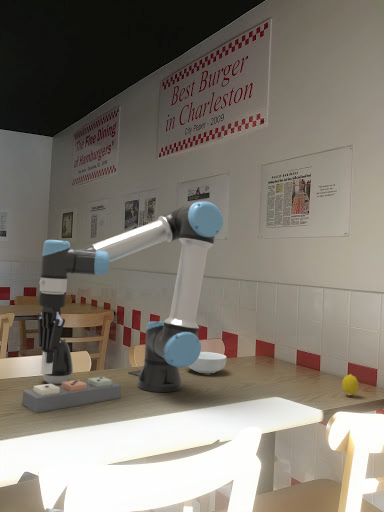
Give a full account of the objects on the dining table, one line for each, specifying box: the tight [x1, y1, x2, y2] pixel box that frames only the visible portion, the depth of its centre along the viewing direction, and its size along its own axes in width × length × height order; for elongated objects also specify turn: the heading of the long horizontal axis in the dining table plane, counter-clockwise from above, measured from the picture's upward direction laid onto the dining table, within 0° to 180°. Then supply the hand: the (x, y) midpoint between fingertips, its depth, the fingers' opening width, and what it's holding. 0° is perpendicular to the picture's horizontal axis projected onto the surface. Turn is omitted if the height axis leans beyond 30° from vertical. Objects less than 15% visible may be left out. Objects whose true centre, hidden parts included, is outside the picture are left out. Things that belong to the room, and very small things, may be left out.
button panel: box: [21, 381, 122, 414], centre depth 147 cm, size 28×9×4 cm, turn 133°
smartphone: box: [127, 369, 142, 378], centre depth 190 cm, size 7×1×15 cm
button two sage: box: [86, 376, 113, 388], centre depth 153 cm, size 6×6×3 cm
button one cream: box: [32, 383, 60, 396], centre depth 141 cm, size 6×6×3 cm
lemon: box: [341, 373, 359, 395], centre depth 172 cm, size 6×6×8 cm
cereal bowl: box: [187, 351, 227, 374], centre depth 197 cm, size 17×17×7 cm
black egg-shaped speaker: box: [42, 338, 74, 386], centre depth 167 cm, size 10×10×15 cm
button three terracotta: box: [61, 379, 87, 392], centre depth 147 cm, size 6×6×3 cm
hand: (46, 373), depth 140 cm, fingers closed
